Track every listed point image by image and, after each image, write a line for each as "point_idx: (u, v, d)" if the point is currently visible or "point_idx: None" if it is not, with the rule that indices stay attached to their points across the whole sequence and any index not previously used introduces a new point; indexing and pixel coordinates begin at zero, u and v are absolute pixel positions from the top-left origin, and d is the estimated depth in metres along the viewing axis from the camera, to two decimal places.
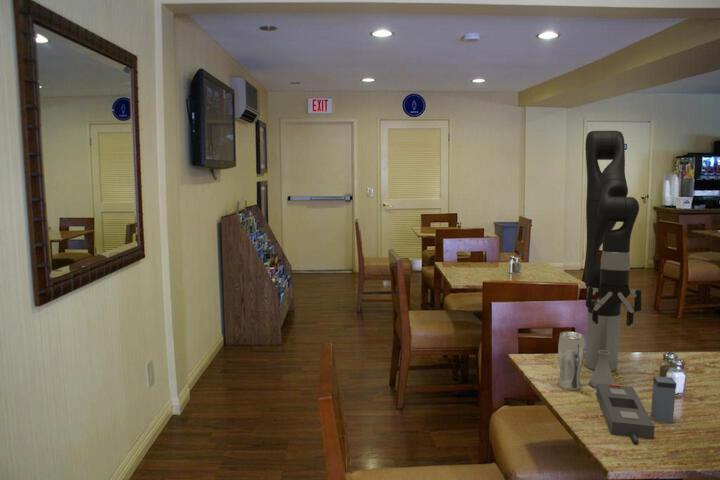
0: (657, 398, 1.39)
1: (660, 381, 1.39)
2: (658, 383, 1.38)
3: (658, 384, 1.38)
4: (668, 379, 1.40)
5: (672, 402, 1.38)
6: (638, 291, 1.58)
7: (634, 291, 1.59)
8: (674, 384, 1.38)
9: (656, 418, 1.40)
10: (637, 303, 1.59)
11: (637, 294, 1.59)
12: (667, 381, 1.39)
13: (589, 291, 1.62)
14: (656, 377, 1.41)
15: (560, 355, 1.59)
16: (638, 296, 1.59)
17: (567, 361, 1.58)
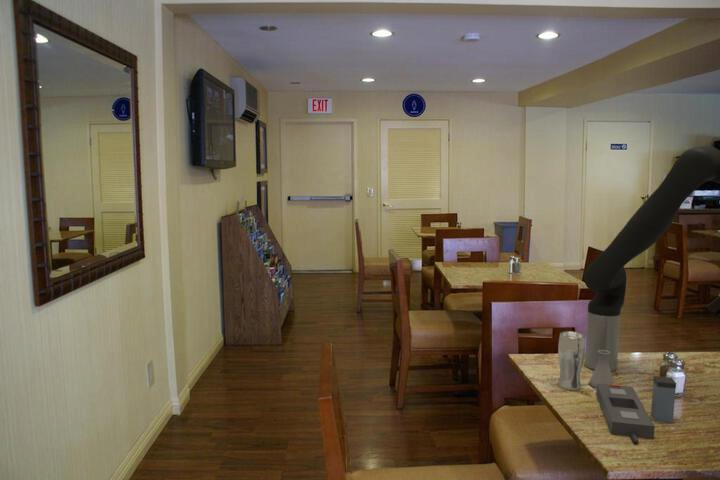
0: (657, 398, 1.39)
1: (660, 381, 1.39)
2: (658, 383, 1.38)
3: (658, 384, 1.38)
4: (668, 379, 1.40)
5: (672, 402, 1.38)
6: None
7: None
8: (674, 384, 1.38)
9: (656, 418, 1.40)
10: None
11: None
12: (667, 381, 1.39)
13: None
14: (656, 377, 1.41)
15: (560, 355, 1.59)
16: None
17: (567, 361, 1.58)
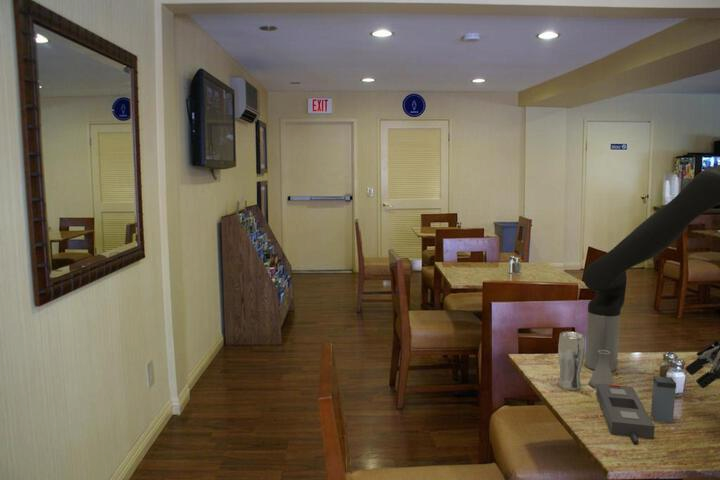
0: (657, 398, 1.39)
1: (660, 381, 1.39)
2: (658, 383, 1.38)
3: (658, 384, 1.38)
4: (668, 379, 1.40)
5: (672, 402, 1.38)
6: None
7: None
8: (674, 384, 1.38)
9: (656, 418, 1.40)
10: None
11: None
12: (667, 381, 1.39)
13: None
14: (656, 377, 1.41)
15: (560, 355, 1.59)
16: None
17: (567, 361, 1.58)
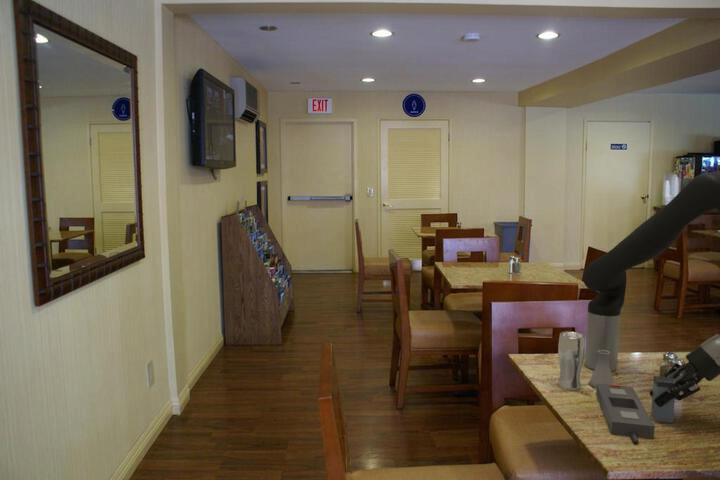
0: None
1: (660, 381, 1.39)
2: (658, 383, 1.38)
3: (658, 384, 1.38)
4: (668, 379, 1.40)
5: (672, 402, 1.38)
6: None
7: None
8: None
9: (656, 418, 1.40)
10: None
11: None
12: (667, 381, 1.39)
13: None
14: (656, 377, 1.41)
15: (560, 355, 1.59)
16: None
17: (567, 361, 1.58)
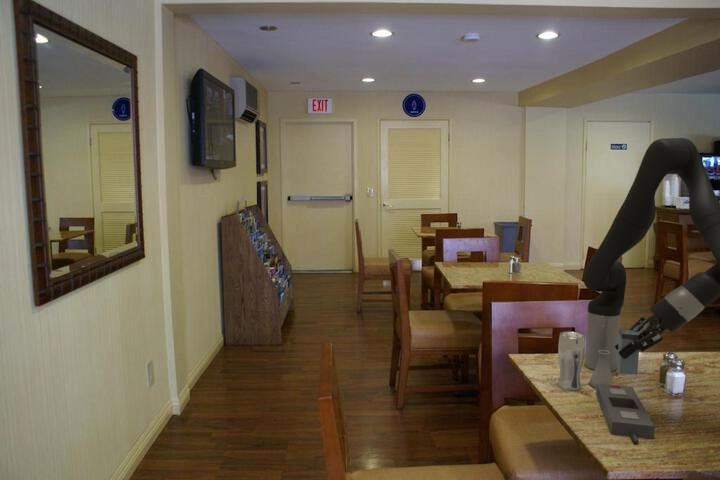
0: None
1: (624, 333, 1.39)
2: (623, 335, 1.39)
3: (623, 336, 1.39)
4: (633, 331, 1.41)
5: (636, 354, 1.39)
6: None
7: None
8: None
9: (621, 370, 1.40)
10: None
11: None
12: (632, 333, 1.39)
13: None
14: (621, 330, 1.42)
15: (560, 355, 1.59)
16: None
17: (567, 361, 1.58)
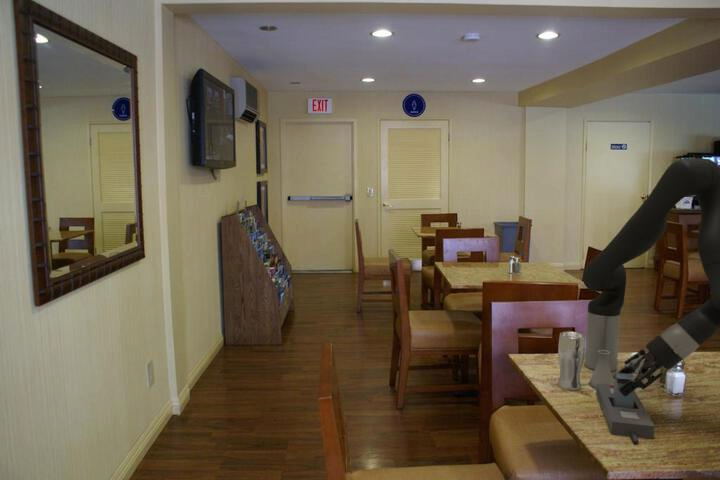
0: (617, 394, 1.41)
1: (619, 378, 1.41)
2: (618, 379, 1.41)
3: (618, 380, 1.41)
4: (628, 375, 1.43)
5: (632, 398, 1.41)
6: None
7: None
8: None
9: None
10: None
11: None
12: (627, 377, 1.41)
13: None
14: (617, 373, 1.44)
15: (560, 355, 1.59)
16: None
17: (567, 361, 1.58)
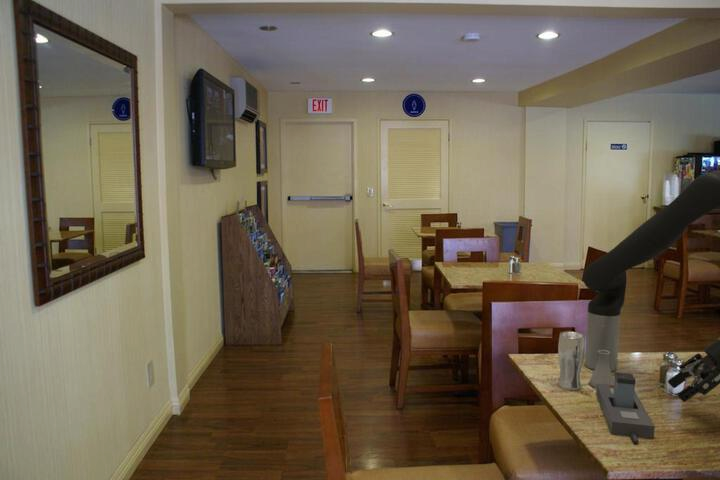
0: (617, 394, 1.41)
1: (619, 378, 1.41)
2: (618, 379, 1.41)
3: (618, 380, 1.41)
4: (628, 375, 1.43)
5: (632, 398, 1.41)
6: None
7: None
8: (633, 380, 1.40)
9: None
10: None
11: None
12: (627, 377, 1.41)
13: None
14: (617, 373, 1.44)
15: (560, 355, 1.59)
16: None
17: (567, 361, 1.58)
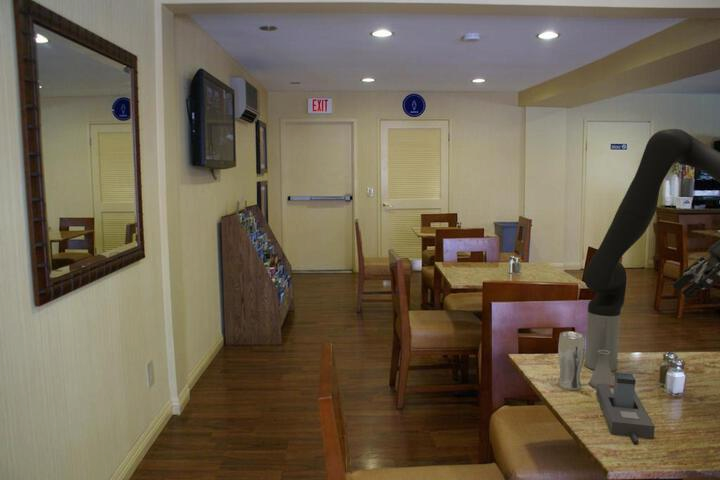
0: (617, 394, 1.41)
1: (619, 378, 1.41)
2: (618, 379, 1.41)
3: (618, 380, 1.41)
4: (628, 375, 1.43)
5: (632, 398, 1.41)
6: None
7: None
8: (633, 380, 1.40)
9: None
10: None
11: None
12: (627, 377, 1.41)
13: None
14: (617, 373, 1.44)
15: (560, 355, 1.59)
16: None
17: (567, 361, 1.58)
